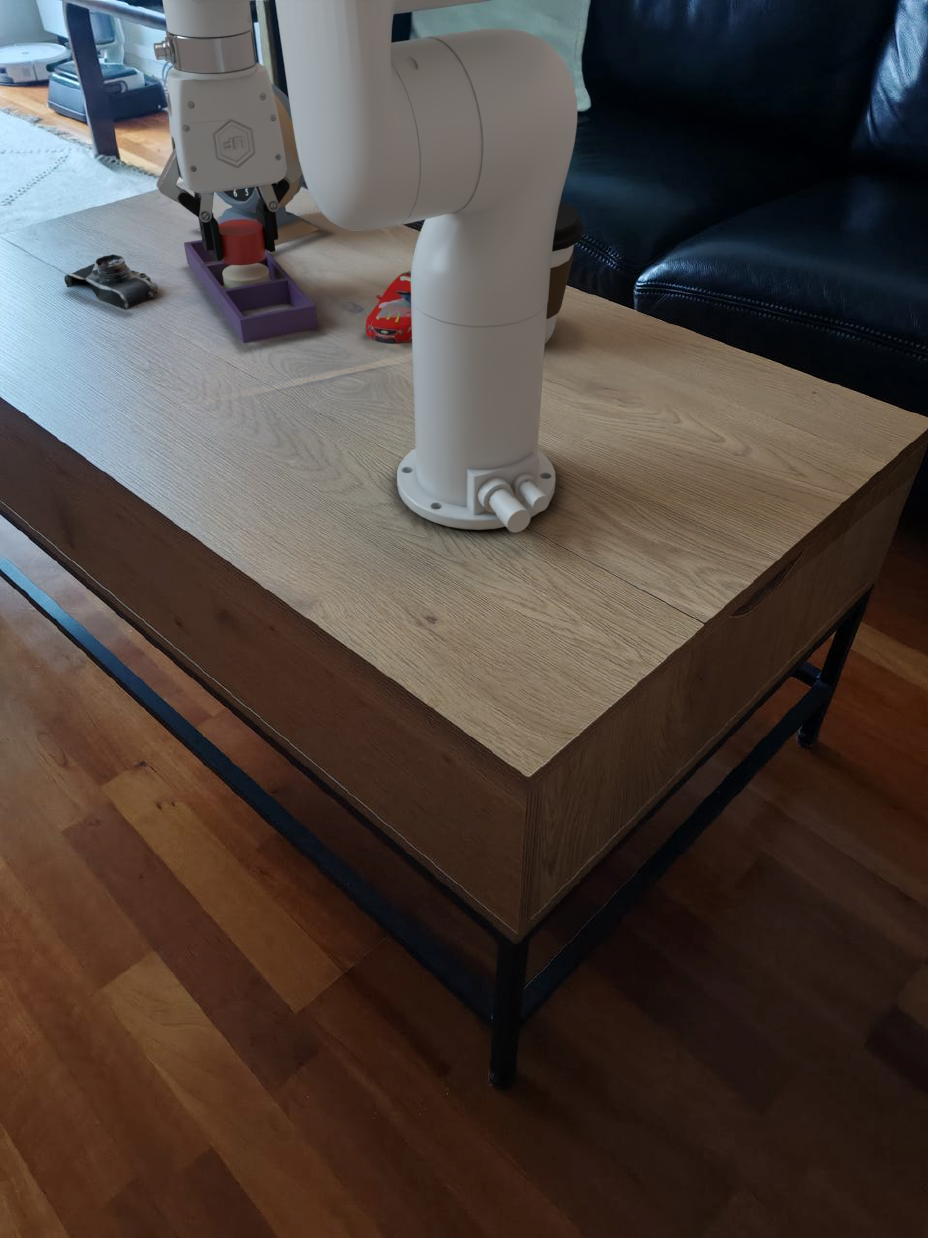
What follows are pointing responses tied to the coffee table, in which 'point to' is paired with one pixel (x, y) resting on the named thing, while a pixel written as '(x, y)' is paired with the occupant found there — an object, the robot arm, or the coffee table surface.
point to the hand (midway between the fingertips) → (242, 249)
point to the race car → (392, 313)
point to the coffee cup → (561, 260)
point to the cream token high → (245, 275)
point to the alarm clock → (248, 197)
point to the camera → (115, 282)
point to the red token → (242, 242)
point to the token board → (254, 297)
